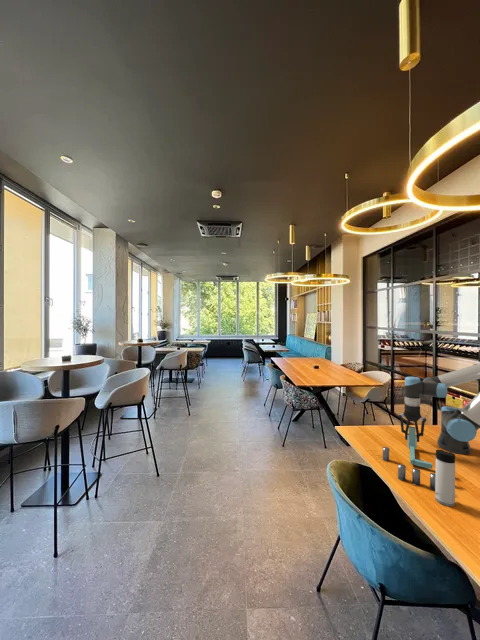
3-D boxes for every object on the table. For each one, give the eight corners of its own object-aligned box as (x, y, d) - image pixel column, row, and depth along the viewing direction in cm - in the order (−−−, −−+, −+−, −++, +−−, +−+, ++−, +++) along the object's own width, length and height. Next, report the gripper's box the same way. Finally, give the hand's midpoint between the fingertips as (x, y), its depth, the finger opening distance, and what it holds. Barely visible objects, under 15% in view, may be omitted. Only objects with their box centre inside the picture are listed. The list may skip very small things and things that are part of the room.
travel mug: (433, 501, 110) (434, 451, 110) (437, 494, 114) (437, 446, 114) (453, 509, 105) (453, 456, 105) (456, 501, 110) (456, 451, 110)
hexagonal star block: (424, 463, 139) (424, 459, 139) (425, 468, 135) (425, 464, 135) (414, 462, 141) (414, 458, 141) (415, 466, 137) (416, 462, 137)
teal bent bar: (408, 447, 157) (409, 426, 158) (429, 451, 153) (429, 429, 153) (409, 463, 137) (409, 438, 138) (432, 469, 132) (432, 443, 133)
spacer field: (443, 472, 132) (443, 459, 132) (447, 494, 115) (447, 479, 115) (382, 457, 145) (383, 446, 145) (379, 475, 128) (379, 462, 128)
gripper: (395, 404, 157) (395, 445, 157) (429, 408, 149) (429, 452, 148) (396, 400, 163) (395, 440, 163) (429, 405, 155) (428, 447, 155)
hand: (412, 446), depth 156 cm, fingers closed on teal bent bar, 3 cm apart
